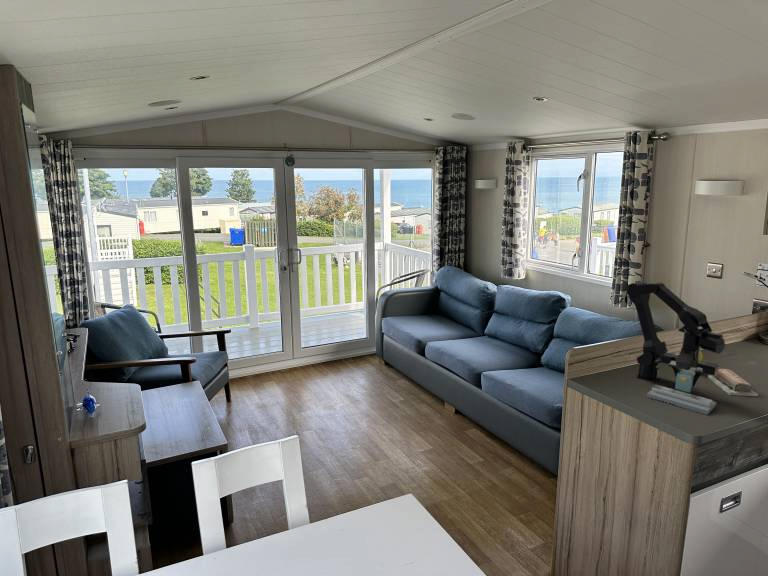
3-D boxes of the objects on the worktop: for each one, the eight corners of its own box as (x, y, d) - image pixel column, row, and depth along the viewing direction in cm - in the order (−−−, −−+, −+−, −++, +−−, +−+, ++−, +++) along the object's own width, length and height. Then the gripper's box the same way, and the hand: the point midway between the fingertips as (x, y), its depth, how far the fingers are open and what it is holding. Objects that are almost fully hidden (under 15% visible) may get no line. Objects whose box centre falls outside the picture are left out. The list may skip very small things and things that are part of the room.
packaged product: (708, 366, 217) (733, 367, 216) (706, 378, 218) (732, 379, 217) (731, 384, 200) (760, 385, 199) (729, 396, 201) (757, 397, 200)
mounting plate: (646, 397, 198) (647, 393, 198) (656, 389, 205) (657, 385, 205) (707, 414, 184) (707, 410, 184) (715, 406, 191) (716, 402, 191)
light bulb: (699, 369, 226) (703, 347, 223) (701, 375, 220) (704, 352, 218) (681, 367, 228) (684, 344, 226) (682, 372, 222) (686, 349, 220)
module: (674, 389, 202) (676, 374, 201) (681, 383, 207) (683, 369, 206) (688, 393, 198) (690, 378, 197) (695, 387, 204) (697, 372, 202)
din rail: (651, 391, 200) (652, 387, 199) (655, 388, 202) (655, 384, 202) (708, 407, 186) (709, 403, 186) (712, 404, 189) (712, 400, 189)
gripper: (656, 344, 200) (651, 383, 204) (713, 356, 187) (706, 398, 191) (667, 337, 208) (662, 375, 211) (722, 349, 195) (715, 389, 198)
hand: (685, 384), depth 203 cm, fingers closed on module, 5 cm apart
